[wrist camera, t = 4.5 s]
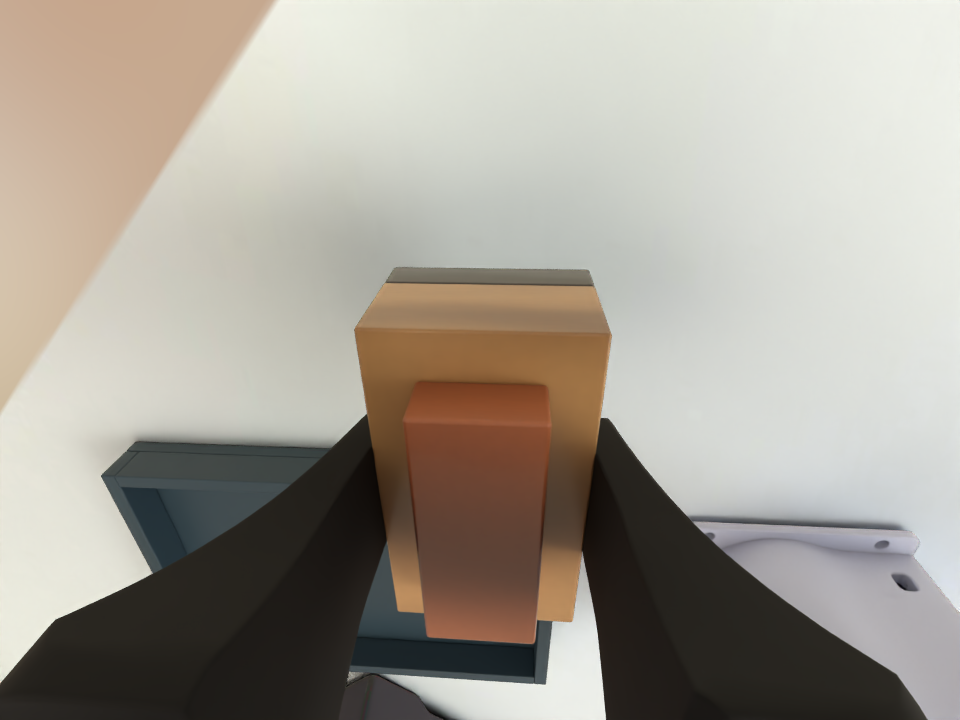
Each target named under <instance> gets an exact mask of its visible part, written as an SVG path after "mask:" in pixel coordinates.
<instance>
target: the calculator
mask: <svg viewBox="0 0 960 720" xmlns="http://www.w3.org/2000/svg"><path fill="white" fill-rule="evenodd" d="M339 720H443V719H441V718H439V717H437V716H435V715H433V714H431V713H429V712H428V711H427V709H426V708H425V706H424V704H423V703H422V701H421V699H420V698H419V696H417V695H415V694H413V693H411V692H409V691H407V690H405V689H403V688H401V687H399V686H397V685H395V684H393V683H391V682H389V681H387V680H385V679H383V678H381V677H379V676H376V675H368V676H366V677H364V678H362V679H360V680H359V681H357V682H355V683H353V684H351V685H349V686H347V687H345V692H344V697H343V701H342V706H341V710H340V715H339Z"/></svg>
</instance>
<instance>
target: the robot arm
mask: <svg viewBox="0 0 960 720" xmlns="http://www.w3.org/2000/svg"><path fill="white" fill-rule="evenodd" d="M386 541H387V538H386V532H385V525H384V519H383V512H382V506H381V499H380V493H379V487H378V480H377V474H376V467H375V461H374V454H373V448H372V441H371V435H370V428H369V422H368V416H367V414H366V415H365V416H364V417H363V418H362V419H361V420H360V421H359V422H358V423H357V424H356V425H355V426H354V427H353V428H352V429H351V430H350V431H349V432H348V433H347V434H346V435H345V436H344V437H343V438H342V439H341V440H340V441H339V442H338V443H336V444H335V445H334V446H333V447H332V448H331V449H330V450H329V451H328V452H327V453H326V454H325V455H324V456H323V457H322V458H320V459H319V460H318V461H317V462H316V463H315V464H314V465H313V466H312V467H311V468H310V469H308V470H307V471H306V472H305V473H304V474H303V475H301V476H300V477H299V478H298V479H297V480H295V481H294V482H293V483H292V484H291V485H290V486H288V487H287V488H286V489H285V490H284V491H282V492H281V493H280V494H279V495H277V496H276V497H275V498H273V499H272V500H271V501H269V502H268V503H267V504H265V505H264V506H263V507H261V508H260V509H258V510H257V511H256V512H254V513H253V514H251V515H250V516H249V517H247V518H246V519H244V520H243V521H241V522H240V523H238V524H237V525H235V526H234V527H232V528H231V529H229V530H227V531H226V532H224V533H222V534H221V535H219V536H218V537H216V538H214V539H213V540H211V541H210V542H208V543H206V544H205V545H203V546H202V547H200V548H198V549H197V550H195V551H193V552H192V553H190V554H188V555H186V556H185V557H183V558H181V559H179V560H177V561H176V562H174V563H172V564H170V565H169V566H167V567H165V568H163V569H161V570H159V571H157V572H155V573H153V574H151V575H150V576H148V577H146V578H144V579H142V580H140V581H138V582H136V583H134V584H132V585H130V586H128V587H126V588H124V589H122V590H120V591H118V592H115V593H113V594H111V595H109V596H107V597H105V598H102V599H100V600H98V601H96V602H94V603H92V604H89V605H87V606H85V607H83V608H81V609H79V610H76V611H74V612H72V613H70V614H68V615H65V616H63V617H61V618H58V619H56V620H55V621H54V622H53V623H52V624H51V625H50V626H49V627H48V628H47V630H46V631H45V632H44V633H43V634H42V635H41V637H40V638H39V639H38V640H37V641H36V642H35V644H34V645H33V646H32V647H31V648H30V649H29V651H28V652H27V653H26V654H25V655H24V656H23V658H22V659H21V660H20V661H19V662H18V663H17V665H16V666H15V667H14V668H13V669H12V670H11V672H10V673H9V674H8V675H7V676H6V677H5V679H4V680H3V681H2V682H1V683H0V720H339V715H340V710H341V706H342V701H343V697H344V692H345V687H346V683H347V678H348V674H349V669H350V664H351V660H352V656H353V651H354V647H355V643H356V639H357V634H358V630H359V626H360V621H361V618H362V614H363V611H364V607H365V604H366V601H367V597H368V595H369V592H370V589H371V586H372V583H373V580H374V577H375V574H376V571H377V568H378V565H379V562H380V559H381V556H382V553H383V550H384V547H385V544H386ZM919 544H920V540H919V539H918V538H917V536H916V535H915V534H914V533H912V532H910V531H901V530H879V529H856V528H833V527H810V526H788V525H765V524H742V523H719V522H697V521H695V522H692V521H691V520H690V519H689V518H688V517H687V516H686V515H685V514H684V513H683V512H682V510H681V509H680V508H679V507H678V506H677V505H676V504H675V503H674V502H673V501H672V500H671V498H670V497H669V496H668V495H667V494H666V493H665V492H664V490H663V489H662V488H661V487H660V486H659V485H658V483H657V482H656V481H655V480H654V479H653V477H652V476H651V475H650V474H649V472H648V471H647V470H646V469H645V468H644V466H643V465H642V464H641V462H640V461H639V460H638V459H637V457H636V456H635V455H634V453H633V452H632V451H631V449H630V448H629V446H628V445H627V444H626V442H625V441H624V440H623V438H622V437H621V435H620V434H619V432H618V431H617V429H616V428H615V427H614V425H613V424H612V422H611V421H610V420H609V419H608V418H601V419H600V426H599V433H598V440H597V448H596V455H595V462H594V469H593V476H592V484H591V491H590V498H589V506H588V513H587V520H586V527H585V535H584V542H583V549H582V552H583V557H584V562H585V567H586V572H587V577H588V582H589V587H590V592H591V597H592V602H593V607H594V613H595V619H596V625H597V632H598V640H599V650H600V660H601V670H602V680H603V690H604V701H605V712H606V720H960V613H959V612H958V610H957V609H956V608H955V607H954V605H953V604H952V603H951V602H950V601H949V599H948V598H947V597H946V596H945V594H944V593H943V592H942V591H941V589H940V588H939V587H938V586H937V585H936V583H935V582H934V581H933V580H932V578H931V577H930V576H929V575H928V574H927V572H926V571H925V570H924V569H923V567H922V566H921V565H920V564H919V563H918V561H917V560H916V559H915V558H914V556H913V555H914V553H915V551H916V550H917V548H918V547H919Z"/></svg>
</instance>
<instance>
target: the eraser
mask: <svg viewBox="0 0 960 720" xmlns="http://www.w3.org/2000/svg"><path fill="white" fill-rule="evenodd" d="M354 332H355V338H356V344H357V351H358V357H359V364H360V370H361V377H362V383H363V390H364V396H365V403H366V409H367V416H368V422H369V428H370V435H371V441H372V448H373V454H374V461H375V467H376V474H377V480H378V487H379V493H380V499H381V506H382V512H383V519H384V525H385V532H386V538H387V545H388V551H389V558H390V564H391V570H392V577H393V583H394V590H395V596H396V603H397V609H398V611H399V612H414V613H424V618H425V627H426V634H427V636H428V637H432V638H448V639H463V640H479V641H494V642H510V643H525V644H533V643H534V642H535V637H536V624H537V620H544V621H561V622H572V621H573V615H574V608H575V600H576V593H577V586H578V579H579V571H580V564H581V557H582V549H583V542H584V535H585V527H586V520H587V513H588V506H589V498H590V491H591V484H592V476H593V469H594V462H595V455H596V448H597V440H598V433H599V426H600V419H601V411H602V404H603V397H604V389H605V382H606V375H607V368H608V360H609V353H610V346H611V338H612V335H611V332H610V329H609V326H608V323H607V320H606V317H605V315H604V312H603V309H602V306H601V303H600V300H599V297H598V295H597V292H596V289H595V287H594V284H593V281H592V278H591V275H590V272H589V271H588V270H561V269H486V268H412V267H396V268H394V270H393V271H392V273H391V274H390V276H389V277H388V279H387V280H386V282H385V284H383V286H382V287H381V289H380V290H379V292H378V293H377V295H376V297H375V298H374V300H373V301H372V303H371V304H370V306H369V307H368V309H367V310H366V312H365V313H364V315H363V316H362V318H361V319H360V321H359V322H358V324H357V325H356V327H355V329H354Z"/></svg>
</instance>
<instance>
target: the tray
mask: <svg viewBox="0 0 960 720" xmlns="http://www.w3.org/2000/svg"><path fill="white" fill-rule="evenodd" d="M329 450H330V449H316V448H289V447H261V446H233V445H206V444H178V443H151V442H135V443H134V444H133V445H132V446H131V447H130V448H129V449H128V450H127V452H125V453H124V454H123V455H122V456H121V457H120V458H119V459H118V460H117V461H116V462H115V463H114V464H112V465H111V466H110V467H109V468H108V469H107V470H106V471H105V472H104V473H103V474H102V475H101V477H102V479H103V481H104V483H105V485H106V487H107V488H108V490H109V492H110V494H111V496H112V498H113V500H114V502H115V503H116V505H117V507H118V509H119V511H120V513H121V515H122V516H123V518H124V520H125V522H126V524H127V526H128V528H129V530H130V531H131V533H132V535H133V537H134V539H135V541H136V543H137V544H138V546H139V548H140V550H141V552H142V554H143V556H144V558H145V559H146V561H147V563H148V565H149V567H150V569H151V571H152V573H155V572H157V571H159V570H161V569H163V568H165V567H167V566H169V565H170V564H172V563H174V562H176V561H177V560H179V559H181V558H183V557H185V556H186V555H188V554H190V553H192V552H193V551H195V550H197V549H198V548H200V547H202V546H203V545H205V544H206V543H208V542H210V541H211V540H213V539H214V538H216V537H218V536H219V535H221V534H222V533H224V532H226V531H227V530H229V529H231V528H232V527H234V526H235V525H237V524H238V523H240V522H241V521H243V520H244V519H246V518H247V517H249V516H250V515H251V514H253V513H254V512H256V511H257V510H258V509H260V508H261V507H263V506H264V505H265V504H267V503H268V502H269V501H271V500H272V499H273V498H275V497H276V496H277V495H279V494H280V493H281V492H282V491H284V490H285V489H286V488H287V487H288V486H290V485H291V484H292V483H293V482H294V481H295V480H297V479H298V478H299V477H300V476H301V475H303V474H304V473H305V472H306V471H307V470H308V469H310V468H311V467H312V466H313V465H314V464H315V463H316V462H317V461H318V460H319V459H320V458H322V457H323V456H324V455H325V454H326V453H327V452H328V451H329ZM551 629H552V621H544V620H537V624H536V637H535V642H534V643H533V644H525V643H510V642H494V641H479V640H463V639H448V638H432V637H428V636H427V634H426V627H425V618H424V613H414V612H399V611H398V609H397V603H396V596H395V590H394V583H393V577H392V570H391V564H390V558H389V551H388V545H387V541H386V544H385V547H384V550H383V553H382V556H381V559H380V562H379V565H378V568H377V571H376V574H375V577H374V580H373V583H372V586H371V589H370V592H369V595H368V597H367V601H366V604H365V607H364V611H363V614H362V618H361V621H360V626H359V630H358V634H357V639H356V643H355V647H354V651H353V656H352V660H351V664H350V669H349V672H364V673H379V674H394V675H409V676H424V677H439V678H454V679H469V680H484V681H499V682H514V683H529V684H544V685H545V684H546V678H547V668H548V658H549V648H550V639H551Z"/></svg>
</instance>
